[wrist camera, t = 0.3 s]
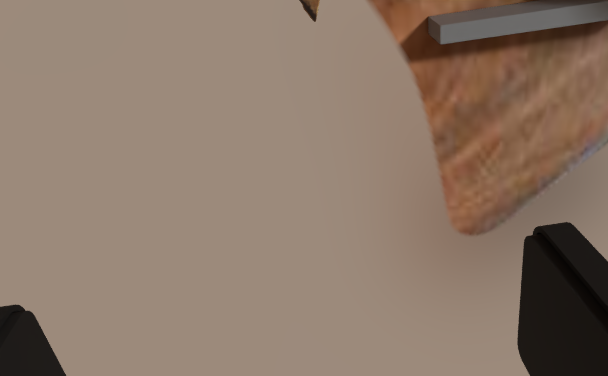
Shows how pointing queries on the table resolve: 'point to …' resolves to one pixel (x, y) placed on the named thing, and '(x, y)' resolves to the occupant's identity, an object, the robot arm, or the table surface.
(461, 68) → the table surface
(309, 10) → the shard
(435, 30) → the box
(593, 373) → the robot arm
